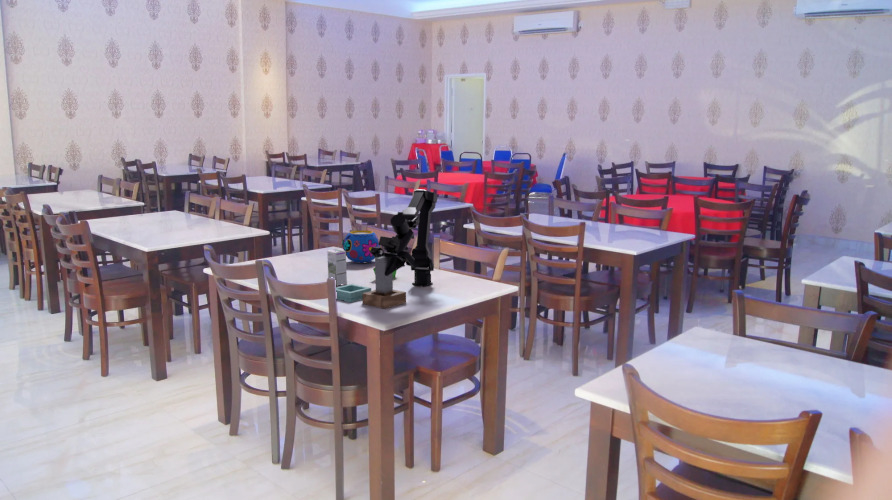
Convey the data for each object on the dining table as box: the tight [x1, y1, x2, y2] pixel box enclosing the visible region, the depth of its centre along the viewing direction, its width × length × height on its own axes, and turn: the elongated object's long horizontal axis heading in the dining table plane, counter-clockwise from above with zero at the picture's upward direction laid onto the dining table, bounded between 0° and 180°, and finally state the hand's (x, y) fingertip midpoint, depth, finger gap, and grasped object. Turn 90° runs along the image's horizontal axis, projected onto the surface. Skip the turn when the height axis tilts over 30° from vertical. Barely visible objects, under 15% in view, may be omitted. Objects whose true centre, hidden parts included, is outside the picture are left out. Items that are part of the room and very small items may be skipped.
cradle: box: [335, 283, 372, 303], centre depth 267 cm, size 13×13×3 cm
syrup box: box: [326, 248, 348, 286], centre depth 287 cm, size 6×6×14 cm
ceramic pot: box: [341, 229, 381, 264], centre depth 333 cm, size 18×18×15 cm
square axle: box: [374, 256, 394, 294], centre depth 256 cm, size 4×4×13 cm
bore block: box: [362, 289, 407, 310], centre depth 257 cm, size 12×12×4 cm
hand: (381, 274), depth 254 cm, fingers closed on square axle, 4 cm apart
